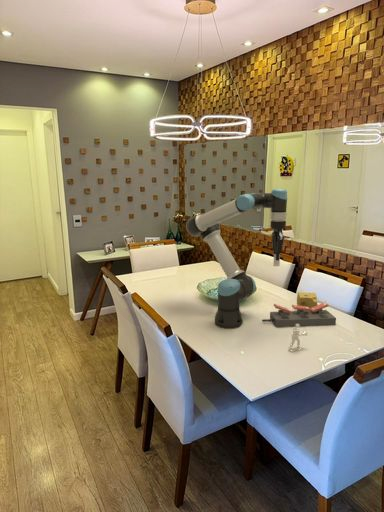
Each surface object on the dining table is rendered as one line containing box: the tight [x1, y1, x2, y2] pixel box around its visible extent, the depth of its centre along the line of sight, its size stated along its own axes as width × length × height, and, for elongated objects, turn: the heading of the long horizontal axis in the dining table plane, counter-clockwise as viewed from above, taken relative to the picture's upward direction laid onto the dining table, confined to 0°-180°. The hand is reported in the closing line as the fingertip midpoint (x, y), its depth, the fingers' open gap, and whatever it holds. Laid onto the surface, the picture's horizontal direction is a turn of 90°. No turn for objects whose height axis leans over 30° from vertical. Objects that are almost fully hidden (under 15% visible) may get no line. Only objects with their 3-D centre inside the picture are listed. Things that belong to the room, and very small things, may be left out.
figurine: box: [288, 324, 308, 353], centre depth 161 cm, size 5×9×12 cm, turn 124°
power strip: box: [261, 309, 337, 328], centre depth 192 cm, size 38×12×6 cm, turn 94°
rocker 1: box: [273, 303, 292, 313], centre depth 193 cm, size 9×4×2 cm, turn 94°
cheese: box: [296, 291, 318, 311], centre depth 207 cm, size 10×11×10 cm
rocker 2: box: [291, 304, 311, 311], centre depth 193 cm, size 9×4×2 cm, turn 94°
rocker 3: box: [310, 301, 329, 312], centre depth 194 cm, size 9×4×2 cm, turn 93°
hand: (276, 265), depth 182 cm, fingers closed
